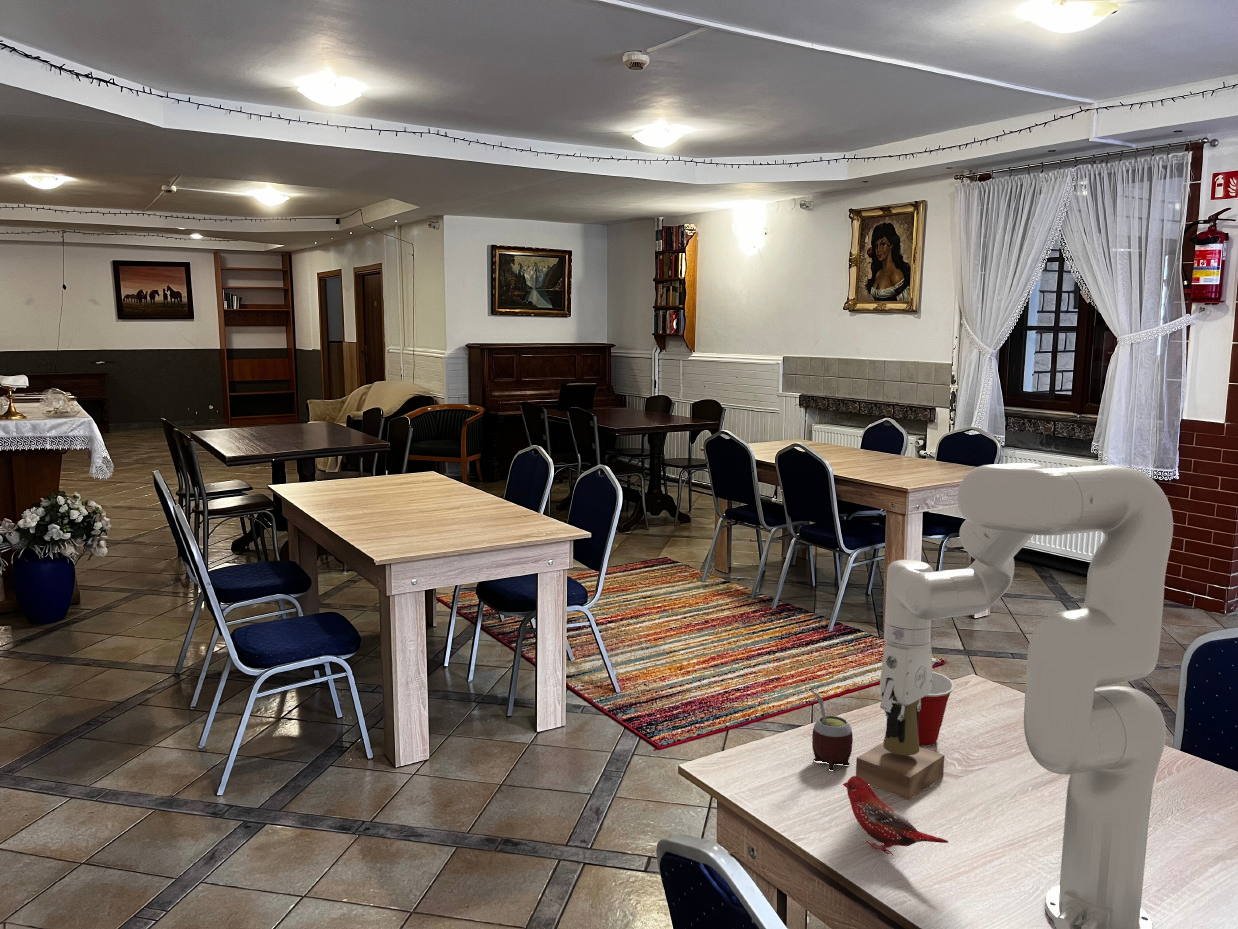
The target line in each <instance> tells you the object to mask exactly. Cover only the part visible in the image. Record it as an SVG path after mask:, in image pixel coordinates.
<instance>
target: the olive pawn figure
mask: <svg viewBox="0 0 1238 929" xmlns="http://www.w3.org/2000/svg"><path fill="white" fill-rule="evenodd" d="M893 699H894V700H897V699H896V697H895V696H894V697H893ZM919 700H920V699H919ZM919 700H917V701H915V702H914V703H912V704H910V705H907V706H905V711H904V718H903V719H904V720H906V723H905V740H904V742H902V743H900V742H899V739H898V737H896V738H894V737H890V738H887V737H886V732H885V735H884V739H883V742H884V744H883V747H884V748H885V749H886V750H887V751H889V752H891V753H895V754H899V755H914V754H917V753H918V752H919V747H920V745H919V738H918V726H917V715H916V706H917V705H918V704H919ZM892 704H893V703H892ZM893 706H894V707H896V708H897V710H898V709H899V705H896V704H893Z"/></svg>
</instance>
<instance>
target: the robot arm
mask: <svg viewBox="0 0 1238 929" xmlns="http://www.w3.org/2000/svg"><path fill="white" fill-rule="evenodd" d="M957 489H958V490H957V494H956V495H957V498H956V500H957V506H958V509H959V511H960V513H961V515H962V516H963V518H965V520H964V521H963V522H962V524H961V526H960V528H959V535H958V536H959V539H960V543H961V545H962V547H963V548H964V550H965V551H966V552H967V553H968V555H969V556H971V557H972V558H973V559H974V561H973V562H972V563H971V564H970V565H969V566H968V567H966V568H958V569H957V568H956V569H955V568H954V569H945V570H937V571H934V569H933V567H932V565H930V564H929V563H926V562H923V561H920V560H916V559H915V560H914V559H898V560H894V561H892V562H890V563H889V565H888V567H887V572H886V592H885V608H884V609H885V610H884V611H885V612H884V631H883V632H884V634H883V640H884V642H885V643H884V649H883V655H882V661H881V662H882V663H881V669H880V678H879V679H880V681H879V695H880V698H881V701H880V705H879V708H880V709H881V710H883V711H884V712H885V717H886V727H885V728H886V729H885V733H886V737H887V738H890V737H894V738H896V737H898V739H899V742H900V743H902V742H904V740H905V723H906V720H904V719H903V718H904V711H905V706H907V705H910V704H912V703H914V702H915V701H917V700H919V699H920V700H919V704H918V705H917V706H916V715H917V726H918V725H919V711H920V709H921V699H922V698H923V697H925V696H926V695H928V694H929V693H930V692H931V689H932V672H933V657H932V656H933V654H932V653H933V652H932V651H933V650H932V645H931V644H932V643H931V634H932V621H933V620H940V619H948V618H955V617H963V616H973V615H977V614H978V615H979V614H980V613H982V612H985V611H986V610H988V609H989V608H990V607H992V606H993V605H994V604H995V603H997V601H999V599H1001V597H1002V596H1003V595H1004V594H1005V593H1006V592H1007V590H1009V588H1010V587H1011V585H1012V582H1013V580H1014V575H1015V559H1014V557H1015V556H1016V555H1017V554H1018V553H1019V552H1020V550H1022V548H1023V547H1024V546H1025V545H1026V544H1027V543H1028V542H1029V541H1030V540H1031V539H1032V538H1033V536H1062V535H1065V536H1066V535H1075V534H1086V533H1088V534H1089V533H1095V532H1097V533H1099V532H1101V533H1103V534H1104V537H1103V538H1104V539H1103V540H1102V542H1100V545H1099V546H1098V548H1097V549H1096V550H1095V553H1094V555H1093V556H1092V559H1091V561H1090V563H1089V567H1088V571H1087V576H1086V579H1087V580H1086V581H1087V582H1086V592H1085V593H1086V594H1085V598H1084V603H1083V606H1082V607H1081V608H1080V609H1078V608H1077V609H1071V610H1063V611H1058V612H1056V613H1052V614H1050V615H1048V616H1046V617H1045V618H1044V619H1042V620H1041V621H1040V622H1039V623H1038V624H1037V626H1036V627H1035V628H1034V631H1033V633H1032V634H1031V637H1030V639H1029V643H1028V649H1027V657H1026V658H1027V660H1026V675H1025V690H1024V691H1025V694H1024V710H1023V730H1024V737H1025V741H1026V745H1027V748H1028V750H1029V752H1030V754H1031V756H1032V757H1033V759H1034V760H1035V761H1036V762H1037V764H1039V765H1040V766H1041V767H1042V768H1043V769H1045V770H1047V771H1048V772H1051V773H1054V774H1057V775H1065V776H1066V775H1067V776H1068V775H1069V777H1068V783H1067V788H1066V798H1065V800H1066V801H1065V812H1064V825H1063V837H1062V838H1063V839H1062V850H1061V861H1060V862H1061V865H1060V874H1059V875H1060V877H1059V885H1057V886H1055V887H1053V888H1051V889H1049V891H1048V892H1047V893H1046V895H1045V902H1044V907H1045V912H1046V914H1047V915H1048V917H1049V918H1050V919H1051V920H1052V922H1053V923H1054V927H1055V928H1056V929H1154V924H1153V920H1152V919H1151V916H1149V915H1148V913H1147V912H1146V911H1145V910H1144V909H1143V908H1142V899H1143V898H1142V897H1143V887H1144V878H1145V877H1144V876H1145V865H1146V854H1147V845H1148V832H1149V821H1150V815H1151V814H1150V813H1151V804H1152V802H1151V801H1152V795H1153V788H1154V782H1155V778H1156V774H1157V770H1158V769H1159V764H1160V762H1161V758H1162V756H1163V751H1164V748H1165V744H1166V738H1167V726H1166V721H1165V718H1164V714H1163V713H1162V710H1161V709H1160V707H1159V706H1158V705H1157V703H1156V701H1154V699H1153V698H1152V697H1150V696H1149V695H1148V694H1146V693H1145V692H1143V691H1141V690H1139V689H1137V688H1133V687H1129V686H1122V685H1115V684H1122V683H1127V682H1131V681H1135V680H1139V679H1143V678H1145V677H1146V676H1148V675H1150V674H1151V673H1152V672H1153V671H1154V670H1155V668H1156V667H1157V663H1158V661H1159V660H1158V659H1159V653H1160V645H1161V633H1162V622H1163V610H1164V600H1165V599H1164V598H1165V583H1166V582H1165V581H1166V573H1167V566H1168V561H1169V556H1170V551H1171V546H1172V540H1173V533H1174V519H1173V511H1172V508H1171V504H1170V502H1169V500H1168V498H1167V496H1166V494H1165V492H1164V490H1163V489H1162V488H1161V486H1160V485H1159V484H1158V483H1157V482H1156V481H1155V480H1154V479H1153V478H1151V477H1150V476H1148V475H1147V474H1145V472H1142V471H1141V470H1140V471H1139V470H1137V469H1134V468H1130V467H1126V466H1121V465H1107V464H1105V465H1103V464H1101V465H1087V466H1077V467H1075V466H1074V467H1073V466H1072V467H1058V468H1057V467H1056V468H1055V467H1054V468H1053V467H1052V468H1049V467H1047V466H1044V465H1042V464H1037V463H1031V462H1020V463H1019V462H1018V463H1017V462H1016V463H1015V462H1013V463H999V464H997V463H995V464H983V465H980V466H977V467H975V468H973V469H972V470H970V471H969V472H968V473H967V474H966V475H965V476H964V477H963V479H962V480H961V482H960V483H959V487H958V488H957ZM1110 685H1111V686H1110ZM894 696H895V697H896V699H897V700H894V699H893V697H894ZM892 703H893V704H896V705H899V709H898V710H897V708H896V707H894V706H893V704H892ZM917 711H918V712H917Z"/></svg>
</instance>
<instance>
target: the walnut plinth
mask: <svg viewBox="0 0 1238 929" xmlns="http://www.w3.org/2000/svg"><path fill="white" fill-rule="evenodd" d="M883 744H884V741H883V742H881V743H880V744H877V745H876V746H874V747H873V748H871V749H869V750H867V751H866V752H864V753H862V754H861V755H858V756H857V757H856V762H855V763H856V765H855V776H858V777H860V778H861V779H863V780H864V781H865V782H866V783H867V784H870V785H869V786H871V785H872V787H873V786H874V788H876V787H877V788H876V789H879V790H881V791H884V792H886V793H889V794H892V795H893V796H897V797H899V798H902V799H904V800H907V801H910V800H912V799H913V798H914V797H916V796H917V795H920V794H921V792H923V791H925V790H926V789H928V788H929V787H931V786H933V784H935V783H937V782H938V781H939V780H941V779H942V778H944V768H945V766H944V765H945V754H942V753H939V752H937V751H934V750H931V749H928V748H925V747H921V746H919V752H918V753H917V754H914V755H899V754H895V753H891V752H889V751H887V750H886V749H885V748H884V747H883Z"/></svg>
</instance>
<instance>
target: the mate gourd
mask: <svg viewBox="0 0 1238 929" xmlns="http://www.w3.org/2000/svg"><path fill="white" fill-rule="evenodd" d="M810 692H811V693H812V694H813V695H814V696H816V698H817V701H818V704H819V707H820V713H821V717H819V718H818V719H817V720H816V721H815V723H814V724H813V725H814V726H813V728H812V734H811V735H812V737H811V738H812V740H811V742H812V745H811V746H812V751H813V755H814V758H813V761H814V760H815V761H822V762H827V763H829V765H828V770H829V769H830V770H833V771H834V768H833V767H835V765H834V764H843V765H849V766H850V762H849V760H850V757H851V754H852V752H853V751H852V750H853V741H854V740H853V739H854V738H853V737H854V736H853V731H852V727H851V725H850V723H849V722H848V721H847V720H846V719H845V718H843V717H840V716H836V715H826V712H825V708H824V700H823V698H822V697H821V696H820V694H818V693H817V692H816V691H814V690H810Z"/></svg>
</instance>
